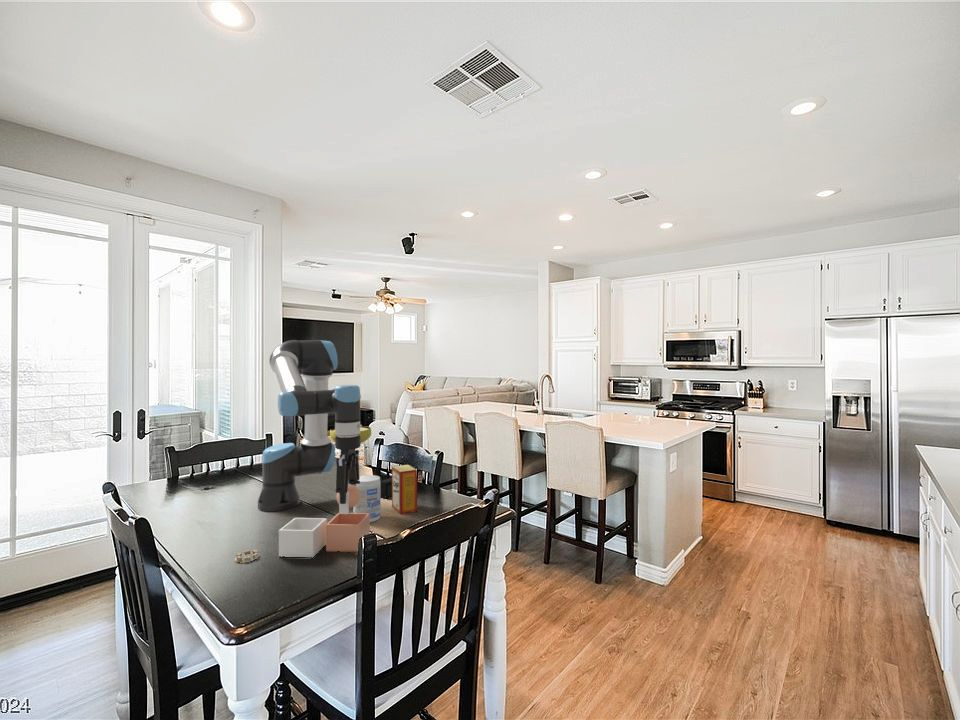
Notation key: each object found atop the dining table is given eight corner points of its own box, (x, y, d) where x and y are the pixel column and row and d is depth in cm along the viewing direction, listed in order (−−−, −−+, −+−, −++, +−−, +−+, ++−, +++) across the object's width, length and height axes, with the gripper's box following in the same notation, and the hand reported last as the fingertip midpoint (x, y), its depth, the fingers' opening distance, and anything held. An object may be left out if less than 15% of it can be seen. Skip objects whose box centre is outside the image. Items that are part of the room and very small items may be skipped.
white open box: (278, 557, 133) (278, 530, 133) (295, 543, 143) (294, 517, 143) (313, 558, 133) (312, 531, 133) (327, 543, 143) (326, 518, 143)
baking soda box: (392, 507, 177) (391, 465, 177) (408, 504, 180) (407, 463, 180) (400, 514, 169) (400, 471, 169) (417, 511, 172) (416, 468, 172)
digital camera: (387, 500, 185) (387, 483, 185) (378, 498, 188) (378, 481, 188) (406, 494, 194) (406, 477, 193) (397, 491, 197) (397, 475, 197)
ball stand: (230, 563, 130) (230, 558, 130) (243, 553, 136) (243, 548, 136) (252, 563, 129) (251, 559, 129) (264, 553, 136) (263, 549, 136)
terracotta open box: (326, 551, 138) (325, 524, 137) (338, 537, 148) (338, 512, 148) (359, 552, 137) (359, 525, 137) (369, 538, 147) (369, 513, 147)
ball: (333, 511, 139) (332, 488, 139) (341, 503, 146) (341, 481, 146) (355, 511, 138) (355, 488, 138) (363, 504, 145) (362, 482, 145)
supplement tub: (371, 525, 158) (371, 482, 158) (347, 522, 161) (347, 480, 161) (385, 515, 168) (385, 475, 167) (362, 513, 170) (362, 473, 170)
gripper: (348, 441, 132) (349, 521, 132) (369, 429, 152) (369, 499, 152) (323, 441, 132) (323, 520, 132) (347, 429, 152) (347, 498, 152)
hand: (348, 509), depth 142 cm, fingers closed on ball, 7 cm apart
